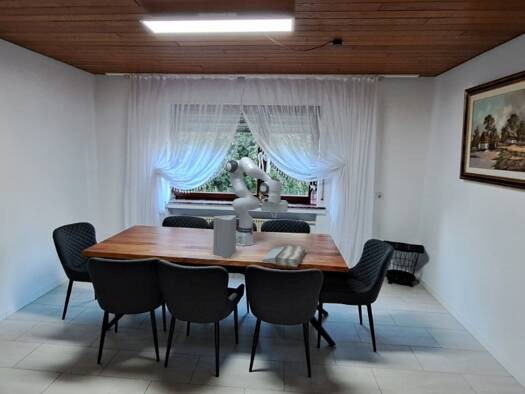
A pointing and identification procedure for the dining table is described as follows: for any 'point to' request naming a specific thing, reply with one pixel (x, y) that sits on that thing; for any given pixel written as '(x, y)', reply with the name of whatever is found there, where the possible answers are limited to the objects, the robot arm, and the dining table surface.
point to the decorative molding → (273, 255)
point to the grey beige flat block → (291, 256)
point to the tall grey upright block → (224, 236)
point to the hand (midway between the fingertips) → (274, 217)
